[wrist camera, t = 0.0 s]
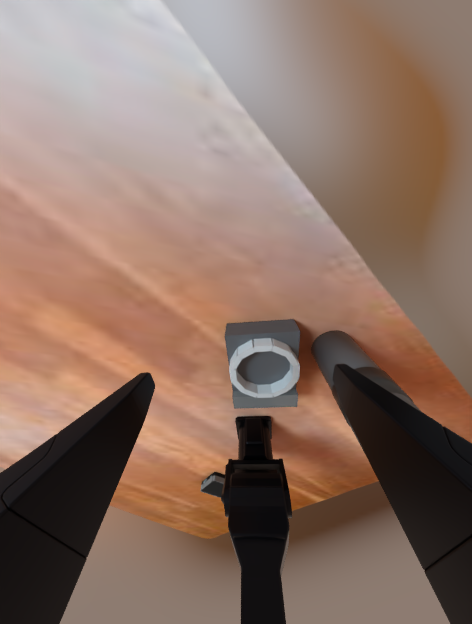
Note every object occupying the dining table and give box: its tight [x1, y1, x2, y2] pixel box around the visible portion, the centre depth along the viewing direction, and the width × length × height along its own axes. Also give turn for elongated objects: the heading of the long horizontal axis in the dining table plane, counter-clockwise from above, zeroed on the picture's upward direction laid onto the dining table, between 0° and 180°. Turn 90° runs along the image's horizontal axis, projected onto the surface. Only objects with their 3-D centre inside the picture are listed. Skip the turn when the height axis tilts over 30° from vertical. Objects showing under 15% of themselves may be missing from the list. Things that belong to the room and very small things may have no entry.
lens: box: [311, 331, 420, 453], centre depth 20 cm, size 6×6×13 cm
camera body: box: [225, 319, 300, 408], centre depth 25 cm, size 12×9×4 cm
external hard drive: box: [201, 472, 225, 498], centre depth 44 cm, size 7×11×2 cm, turn 58°
